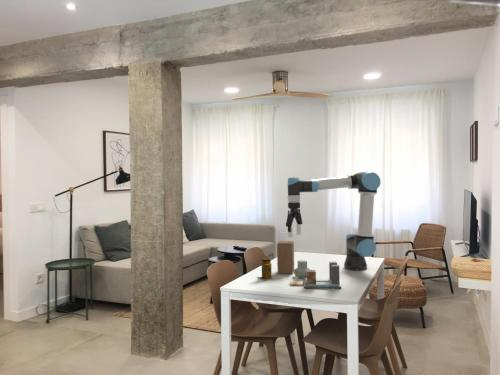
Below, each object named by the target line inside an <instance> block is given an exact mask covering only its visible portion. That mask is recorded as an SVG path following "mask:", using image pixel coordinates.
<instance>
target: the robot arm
mask: <svg viewBox="0 0 500 375" xmlns="http://www.w3.org/2000/svg"><path fill="white" fill-rule="evenodd" d="M381 182H382V181H381V178H380V176H379V175H378V174H377V173H376V172H375V171H360V172H357V173H352V174H347V175H345V176H336V177H326V178H325V177H323V178H315V179H300V177H299V176H298V177H293V176H292V177H288V178H287V208H288V210H287V216H286V217H287V218H286V222H285V227H286V228H287V238H293V222H294V220H295V221H296V225H295V226H296V235H300V236H301V235H302V225H303V219H302V214H301V209H300V208H301V203H300V202H301V193H317V192H318V191H325V190H326V191H327V190H336V189H348V190H351V189H354V190H356V189H357V193H358V194H359V196H360V197H359V207H358V208H359V209H358V212H359V213H358V223H357V224H358V226H357V232H356V233H349V234H346V237H345V240H346V242H345V243H346V244H345V246H346V248H345V250H346V252H345V253H346V255H345V256H346V257H345V260H344V263H343V268H344V269H346V270H351V271H352V270H353V271H363V270H367V269H368V264H367V261H366V258H368V257H371V256H373V255H374V254H375V252H376V251H377V243H376V242H375V241H374V239H375V235H374V234H373V233H372V232H373V218H374V204H375V196H376V195H377V193H378V188H379V187H380V186H381ZM289 209H290V210H289ZM365 257H366V258H365Z"/></svg>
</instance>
